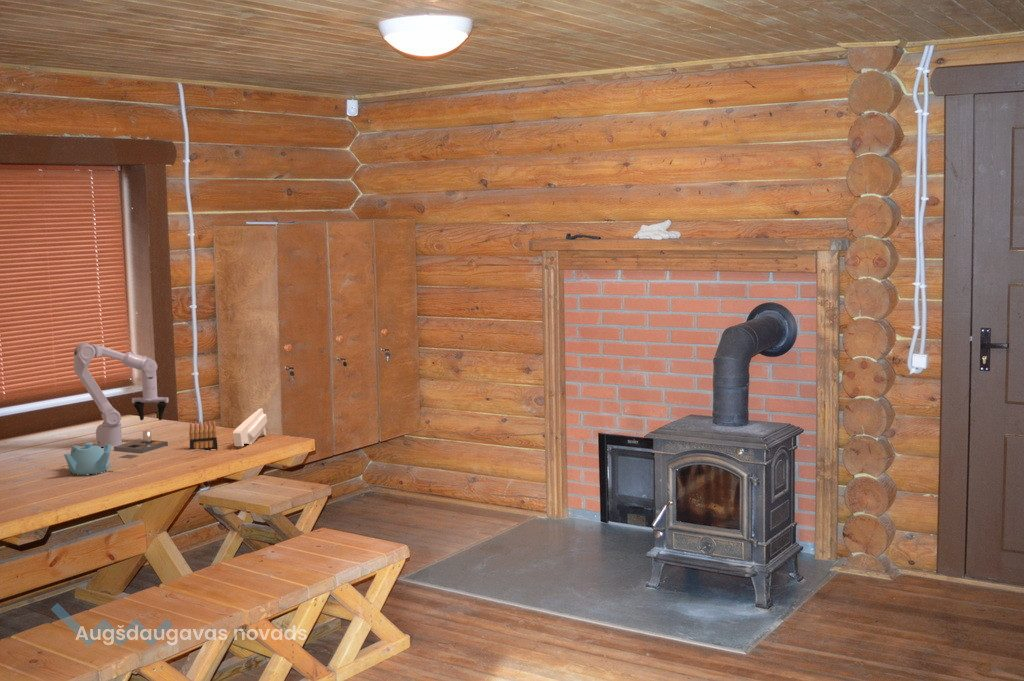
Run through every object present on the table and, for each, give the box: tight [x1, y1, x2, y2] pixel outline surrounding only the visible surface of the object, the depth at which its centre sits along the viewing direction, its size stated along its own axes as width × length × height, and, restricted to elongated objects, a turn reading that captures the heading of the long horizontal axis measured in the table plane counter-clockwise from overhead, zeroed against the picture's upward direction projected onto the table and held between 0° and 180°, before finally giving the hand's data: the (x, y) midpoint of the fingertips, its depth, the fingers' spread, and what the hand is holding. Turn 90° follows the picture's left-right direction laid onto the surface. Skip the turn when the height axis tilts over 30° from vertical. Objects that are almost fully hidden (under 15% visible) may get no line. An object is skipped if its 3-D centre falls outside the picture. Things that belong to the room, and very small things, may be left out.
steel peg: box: [142, 429, 153, 444], centre depth 424 cm, size 3×3×7 cm
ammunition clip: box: [189, 420, 218, 451], centre depth 419 cm, size 11×2×12 cm, turn 112°
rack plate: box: [113, 438, 169, 454], centre depth 421 cm, size 14×15×3 cm
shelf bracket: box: [232, 408, 268, 447], centre depth 434 cm, size 6×25×13 cm, turn 170°
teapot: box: [63, 442, 112, 476], centre depth 386 cm, size 15×15×11 cm
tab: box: [118, 454, 139, 459], centre depth 406 cm, size 6×5×1 cm
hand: (151, 419), depth 435 cm, fingers open, 7 cm apart
